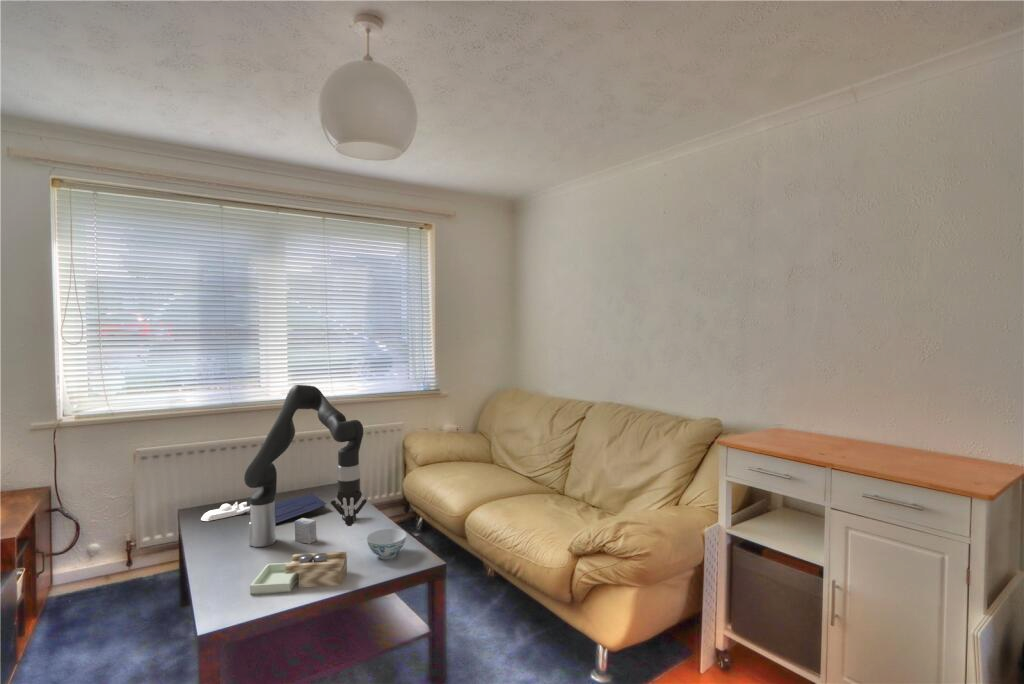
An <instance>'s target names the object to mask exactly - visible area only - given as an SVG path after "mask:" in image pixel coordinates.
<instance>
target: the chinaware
mask: <svg viewBox="0 0 1024 684" xmlns="http://www.w3.org/2000/svg"><path fill="white" fill-rule="evenodd" d="M406 538H407V533H406V531H405V530H403V529H399V528H383V529H378V530H375V531H373V532H371V533H370V534H368V535H367V536H366V542H367V545H368V547H369V549H370V550H371V552H372V553H374V554H375V555H376V556H377V557H378V558H379V559H381V560H390V559H393V558H394V557H396V556H397V553H399V552H400V551H401V550H402V549H403V547H404V545H405V542H406Z"/></svg>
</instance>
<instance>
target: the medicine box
mask: <svg viewBox="0 0 1024 684" xmlns="http://www.w3.org/2000/svg"><path fill="white" fill-rule="evenodd" d="M317 534H318V533H317V520H315V519H310V518H306V517H301V518H299V519H297V520H294V541H295V542H297V543H298V542H299V543H303V544H308V545H310V544H312V543H314V542H316V541H317V539H318V536H317Z"/></svg>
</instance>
